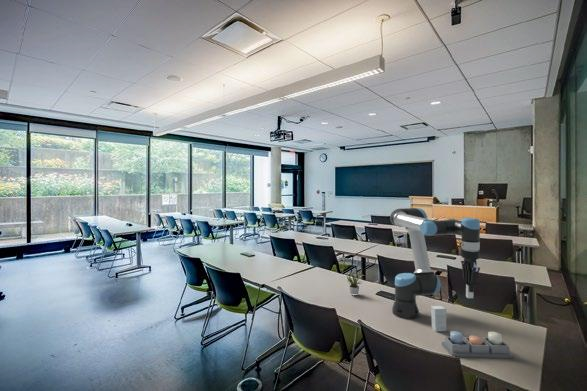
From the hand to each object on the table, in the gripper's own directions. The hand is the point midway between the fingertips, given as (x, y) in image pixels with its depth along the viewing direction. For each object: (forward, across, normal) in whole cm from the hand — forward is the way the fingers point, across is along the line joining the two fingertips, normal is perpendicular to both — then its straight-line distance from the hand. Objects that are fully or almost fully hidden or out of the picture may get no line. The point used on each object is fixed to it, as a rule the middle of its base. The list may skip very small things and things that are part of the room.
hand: (469, 297), depth 139 cm
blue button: (+17, +9, -10) cm, 22 cm away
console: (+21, +9, -2) cm, 23 cm away
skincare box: (+22, -10, -10) cm, 26 cm away
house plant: (+24, -61, -47) cm, 80 cm away
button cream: (+17, +9, +7) cm, 20 cm away
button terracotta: (+19, +9, -2) cm, 21 cm away
